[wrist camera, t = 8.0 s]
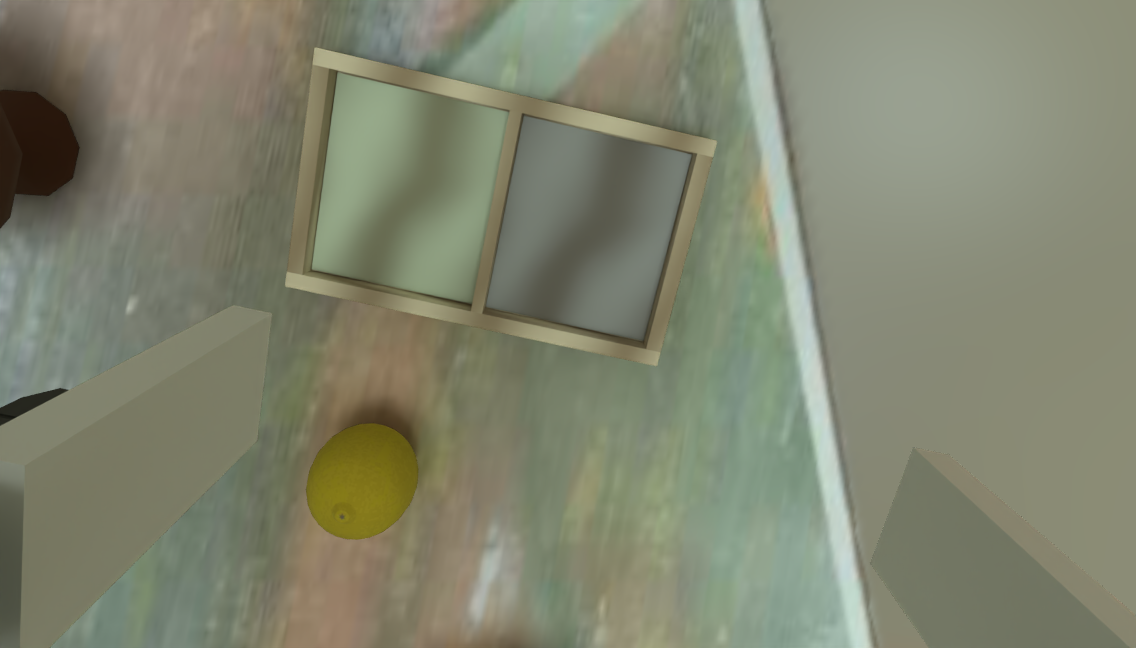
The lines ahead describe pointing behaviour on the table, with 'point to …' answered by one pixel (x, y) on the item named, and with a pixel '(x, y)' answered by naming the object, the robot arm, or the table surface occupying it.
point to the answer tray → (492, 208)
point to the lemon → (362, 481)
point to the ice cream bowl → (32, 148)
